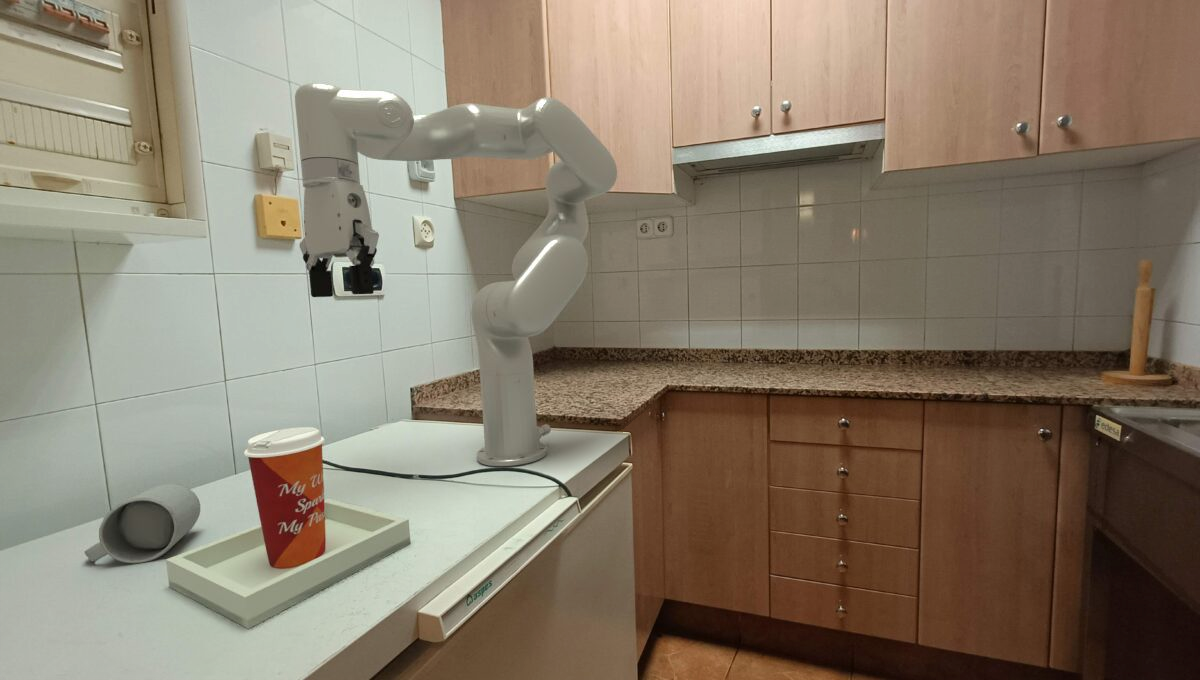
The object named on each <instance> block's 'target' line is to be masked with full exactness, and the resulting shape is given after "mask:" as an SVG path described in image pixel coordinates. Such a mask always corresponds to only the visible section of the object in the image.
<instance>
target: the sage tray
mask: <svg viewBox="0 0 1200 680" xmlns="http://www.w3.org/2000/svg"><path fill="white" fill-rule="evenodd" d="M324 505H325V533H326V548H325V552H324V553H323V554H322V555H321V556H320V557H318V558H316V559H314V560H312V561H310V562H308V563H306V564H303V565H301V566H297V567H292V568H285V569H278V568H273V567H271V566H270V564H269V560H268V556H267V551H266V547H265V542H264V537H263V532H262V527H261V523H259V524H257V525H254V526H251V527H249V528H246V529H244V530H241V531H239V532H235V533H232V534H231V535H226V536H225V537H222V538H220V539H217V540H214V541H212V542H209V543H205V544H204V545H203V544H202V545H201V546H198V547H195V548H193V549H191V550H188V551H185V552H183V553H180V554H177V555H174V556H171V557H169V558H167V559H165V561H166V569H167V576H168V577H167V578H168V586H169V588H171V589H173V590H174V591H177V592H178V593H180V594H182V595H184V596H186V597H188V598H190V599H191V600H194V601H195V602H197V603H199V604H200V605H203V606H205V607H207V608H208V609H210V610H212V611H214V612H216V613H217V614H219V615H222V616H224V617H225V618H227V619H229V620H231V621H233V622H235V623H236V624H239V625H241V626H242V627H244V628H245V629H247V630H249V629H251V628H254V627H255V626H257V625H259V624H261V623H263V622H265V621H267V620H268V619H270V618H272V617H274V616H275V615H278V614H280V613H282V612H283V611H285V610H287V609H289V608H291V607H293V606H294V605H297V604H298V603H301V602H302V601H304V600H306V599H309V598H310V597H312V596H314V595H315V594H317V593H319V592H321V591H324V590H326V589H328V588H329V587H331V586H333V585H334V584H335V585H336V583H338V582H340V581H342V580H344V579H346V578H348V577H350V576H352V575H353V574H356V573H357V572H359V571H361V570H363V569H366V568H367V567H369V566H370V565H372V564H374V563H376V562H379V561H380V560H382V559H384V558H386V557H388V556H389V555H391V554H394V553H395V552H397V551H399V550H401V549H403V548H406V547H407V546H408V545H410V544H411V543H412V541H411V532H410V520H409V519H408V518H405V517H401V516H398V515H394V514H389V513H386V512H382V511H378V510H375V509H370V508H367V507H362V506H359V505H354V504H351V503H347V502H343V501H338V500H335V499H331V498H326V499H324ZM393 552H394V553H393Z"/></svg>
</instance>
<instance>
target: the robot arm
mask: <svg viewBox="0 0 1200 680" xmlns="http://www.w3.org/2000/svg"><path fill="white" fill-rule="evenodd" d="M294 106H295V114H296V125H297V126H296V127H297V136H298V137H297V139H298V146H299V155H300V159H299V160H300V166H301V167H300V168H301V177H302V178H301V179H302V187H303V189H304V190H303V191H304V194H303V229H304V238H303V239H302V240H301V241H300V243H299V249H300V251H301V253H302V259H303V261H304V262H305V267H306V270H307V271H308V276H309V277H308V278H309V287H310V289H309V290H310V295H311V297H312V298H329V297H330V298H331V297H333V295H334V291H333V290H334V289H333V277H332V270H328V269H329V267H330V264H331V263H332V258H333V257H335V258H348V259H349V260H350V262H351V264H352V265H349V266H348V267H349V277H350V288H351V290H350V291H351V294H352V295H372V294H374V290H375V289H374V279H373V268H372V267H373V266H374V264H375V260H374V258H375V256H376V255H377V253H378V252H377V251H378V250H377V246H378V242H379V238H380V235H379V232H378V231H377V230H374V229H373V227H372V219H371V214H370V207H369V202H368V200H367V199H368V198H367V196H366V193H365V189H364V186H363V185H362V184H361V178H360V167H359V166H360V165H359V154H360V155H362V156H364V157H366V158H370V159H373V160H381V161H395V162H396V161H401V162H421V161H422V162H423V161H425V162H426V161H436V160H437V161H438V160H457V159H462V158H463V159H465V158H480V159H481V158H485V159H505V160H520V161H525V160H527V161H528V160H529V161H530V160H536V159H541V158H543V157H545V156H546V155H548V154H551V153H554V154H555V155H556V156H557V157H558V159H559V160H558V161H557V162H555V163H554V164H552V165H551V167H550V168H549V169H548V171H547V174H546V177H545V191H546V196H547V201H548V213H547V215H546V217H545V218H544V219H543V220H542V223H541V224H540V225H539V226H538V228H537V229H535V231H534V232H533V234H532V235H530V237H529V238H528V239H527V240H526V242H525V243H524V244H523V245H522V246H521V248H520V249H518V251H517V253H516V254H515V256H514V257H513V261H512V265H511V272H512V276H513V278H514V280H506V281H497V282H493V283H489V284H487V285H485V286H483V287H482V288H481V289H479V291H478V292H477V293H476V294H475V296H474V299H473V301H472V303H471V309H470V310H471V314H470V315H471V322H472V327H473V331H474V336H475V340H476V344H477V353H478V362H479V363H478V364H479V376H480V377H479V380H480V394H481V396H480V397H481V408H482V409H481V410H482V423H483V424H482V425H483V439H484V447H482V448H481V449H479V450H478V451H477V452H476V461H477V462H478V463H480V464H482V465H485V466H491V467H513V466H520V465H521V466H522V465H527V464H529V463H533V462H537V461H539V460H541V459H543V458H544V457H545V456H546V455H547V454H548V450H547V445H545V444H544V443H542V442H541V439H542V437H543V436H544V437H545V436H546V435H549V434H550V433H551V429H552V428H551V426H550V425H549V424H546V423H545V424H542V425H541V426H540V425H537V424H538V423H537V410H536V409H537V408H536V407H537V406H536V395H535V394H536V393H535V391H536V390H535V373H534V360H533V359H534V357H533V352H532V347H531V344H530V343H531V342H530V340H529V338H530V337H534V336H537V335H539V334H542V333H543V332H544V331H545V330H547V329H548V328H549V327H550V326H551V325H552V324H553V322H554V321H555V320H556V319H557V317H558V316H559V315H560V314H561V312H562V311H563V309H564V308H565V307H566V305H567V304H568V303H569V302H570V300H571V299H572V297H573V296H574V295H575V294H576V292H577V291H578V290H579V288H580V287H581V286H582V284H583V282H584V279H585V278H586V275H587V271H588V266H589V265H588V264H589V259H588V258H589V257H588V252H587V249H586V248H585V246H584V244H583V243H585V240H586V238H587V237H588V233H589V221H588V213H587V208H586V205H585V201H586V200H590V199H592V198H595V197H599V196H601V195H604V194H606V193H608V192H609V191H610V190H611V189H612V188H613V187H614V186H615V183H616V182H617V178H618V169H617V164H616V161H615V158H614V157H613V155H612V153H611V152H610V151H609V149H608V148H607V147H606V146H605V145H604V144H603V142H601V140H600V139H599V138H598V137H597V136H596V135H595V134H594V133H593V131H592V130H591V129H590V128H589V127H588V126H587V125H586V123H584V122H583V121H582V119H581V118H580V117H579V116H578V115H577V114H576V113H575V112H574V111H573V110H572V109H571V108H569V107H568V106H567V105H566V104H565V103H563V102H562V101H560V100H558V99H557V98H553V97H549V96H547V97H542V98H539V99H537V100H535V101H534V102H532V103H531V104H530V105H528V106H527V107H525V108H513V107H504V106H503V107H502V106H495V105H494V106H493V105H487V104H479V103H472V102H471V103H461V104H457V105H453V106H450V107H448V108H445V109H442V110H439V111H436V112H432V113H427V114H421V115H414V113H413V110H412V107H411V106H410V104H409V103H408V102H407V100H405V99H404V98H403V97H401V96H400V95H398V94H396V93H393V92H391V91H387V90H383V89H381V90H378V89H345V88H344V89H343V88H341V87H338V86H336V85H335V86H334V85H332V84H331V85H330V84H326V83H317V82H316V83H315V82H313V83H306V84H303V85H301V86H299V87H298V88H297V89H296V92H295V94H294ZM358 153H359V154H358ZM321 259H322V260H321Z"/></svg>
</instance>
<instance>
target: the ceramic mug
mask: <svg viewBox="0 0 1200 680" xmlns="http://www.w3.org/2000/svg"><path fill="white" fill-rule="evenodd" d="M200 515H201V503H200V499H199V497H198V496H197V494H196V493H195V492H194V491H193V490H192V489H190V488H189V487H187V486H184V485H182V484H174V483H170V484H169V483H168V484H162V485H161V484H160V485H157V486H153V487H151V488H148V489H146V490H145V491H143V492H141V493H139V494H137V495H134V496H133V497H130V498H128V499H126V500H124V501H122V502H120V503H118V504H117V505H115V506H114V507H113V508H112V509H110V511H109V512H108V513H107V514H106V515H105V516H104V517H103V520H102V522H101V524H100V526H99V529H98V539H99V542H97V543H96V544H94V545H92V546H90V547H89V548H87V549H86V550H85V551H84V555H85V556H86V557H87V558H88V560H89V562H91V563H92V562H95V561H99V560H100V559H101V558H104V557H105V556H107V555H108V556H110V557H111V558H112V559H114V560H117V561H118V562H122V563H125V564H141V563H142V564H143V563H147V562H150V561H153V560H157V559H158V558H160V557H161V556H164V554H166V553H167V552H168V551H170V549H171V548H172V547H174V546H175V544H177V543H178V542H179V541H180V540H181V539H183V537H185V535H186V534H188V533H189V532H190V531H191V530H192V529H193V527H194V526H195V525H196V523H197V522H198V520H199V517H200Z"/></svg>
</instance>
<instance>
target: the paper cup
mask: <svg viewBox="0 0 1200 680" xmlns="http://www.w3.org/2000/svg"><path fill="white" fill-rule="evenodd" d="M325 441H326V440H325V438H324V437H323V436H322V434H321V432H320V430H319V429H318V428H316V427H313V426H311V427H309V426H307V427H305V426H302V427H299V426H298V427H291V428H283V429H277V430H273V431H272V430H271V431H268V432H265V433H260V434H258V435H255V436H253V437H251V438H249V439H248V441H247V445H246V449H245V450H244V453H243V455H244V456H245V457H247V458H248V463H249V468H250V473H251V479H252V484H253V490H254V495H255V499H256V506H257V509H258V515H259V521H260V524H261V527H262V532H263V537H264V542H265V547H266V551H267V556H268V560H269V564H270V566H271V567H273V568H278V569H285V568H292V567H297V566H301V565H303V564H306V563H308V562H310V561H312V560H314V559H316V558H318V557H320V556H321V555H322V554H323V553H324V552H325V548H326V533H325V505H324V500H325V484H324V482H325V481H324V464H323V463H324V462H323V459H324V458H323V444H324V443H325Z"/></svg>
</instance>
